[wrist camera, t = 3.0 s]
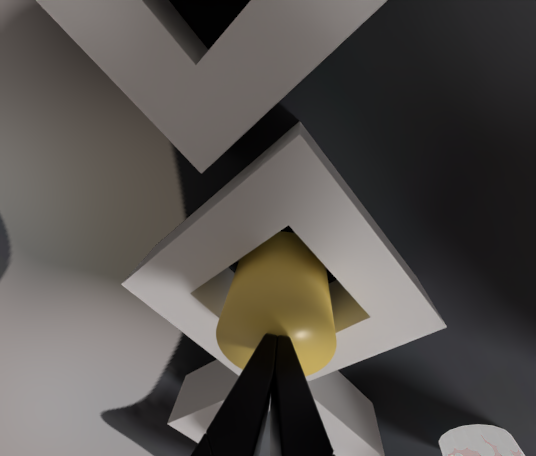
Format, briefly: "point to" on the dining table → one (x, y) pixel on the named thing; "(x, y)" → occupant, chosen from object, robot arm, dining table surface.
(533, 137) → the dining table surface
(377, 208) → the dining table surface
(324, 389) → the light gray housing
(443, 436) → the beverage cup
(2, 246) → the dining table surface
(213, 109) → the offwhite housing
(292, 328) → the mustard button
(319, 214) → the hollow square frame
